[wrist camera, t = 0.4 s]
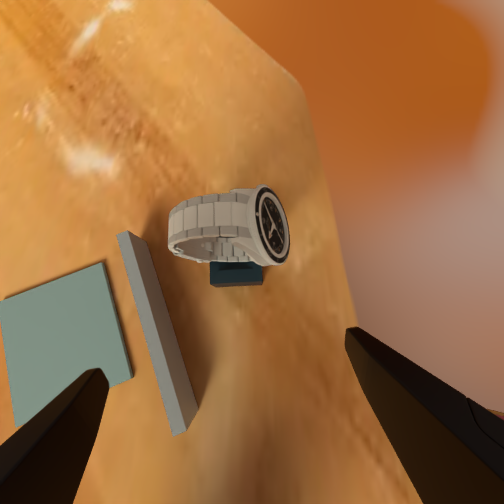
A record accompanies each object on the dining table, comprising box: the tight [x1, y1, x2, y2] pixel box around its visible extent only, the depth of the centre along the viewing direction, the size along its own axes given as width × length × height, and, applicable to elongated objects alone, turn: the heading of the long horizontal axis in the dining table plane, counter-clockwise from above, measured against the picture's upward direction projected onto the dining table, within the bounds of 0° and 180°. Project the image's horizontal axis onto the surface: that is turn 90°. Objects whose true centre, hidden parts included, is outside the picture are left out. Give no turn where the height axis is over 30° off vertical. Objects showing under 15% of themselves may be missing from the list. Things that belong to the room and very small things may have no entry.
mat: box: [0, 262, 133, 427], centre depth 21 cm, size 11×10×1 cm
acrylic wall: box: [116, 230, 199, 437], centre depth 20 cm, size 16×1×4 cm, turn 23°
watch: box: [168, 184, 290, 287], centre depth 18 cm, size 6×8×11 cm
